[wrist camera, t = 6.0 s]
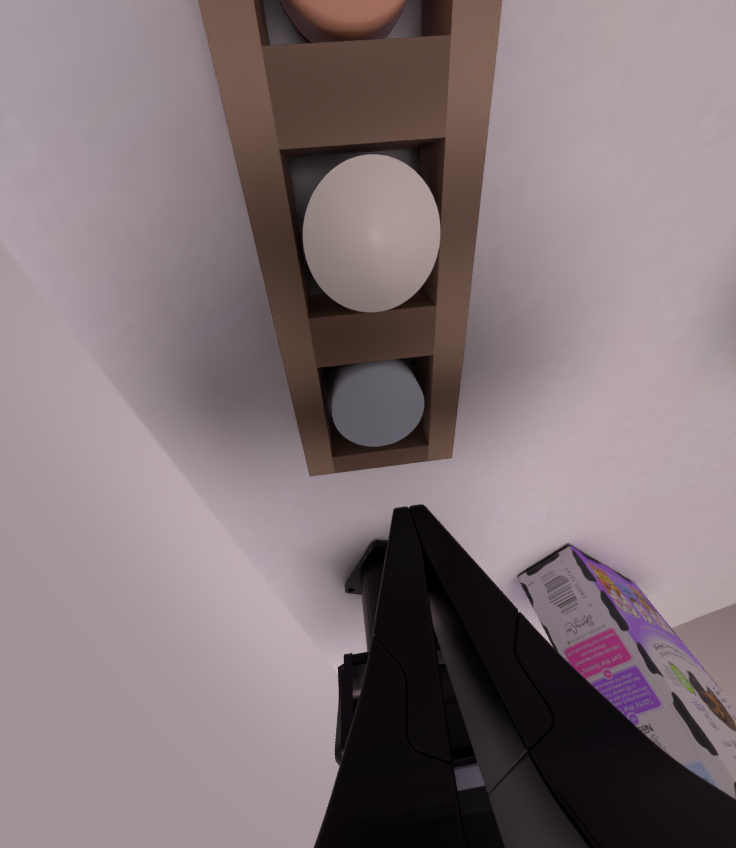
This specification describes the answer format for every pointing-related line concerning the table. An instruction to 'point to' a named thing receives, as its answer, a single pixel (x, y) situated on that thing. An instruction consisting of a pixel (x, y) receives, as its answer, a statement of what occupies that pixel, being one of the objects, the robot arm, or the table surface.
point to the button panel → (351, 133)
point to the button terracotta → (344, 18)
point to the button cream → (371, 233)
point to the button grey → (376, 401)
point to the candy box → (635, 661)
